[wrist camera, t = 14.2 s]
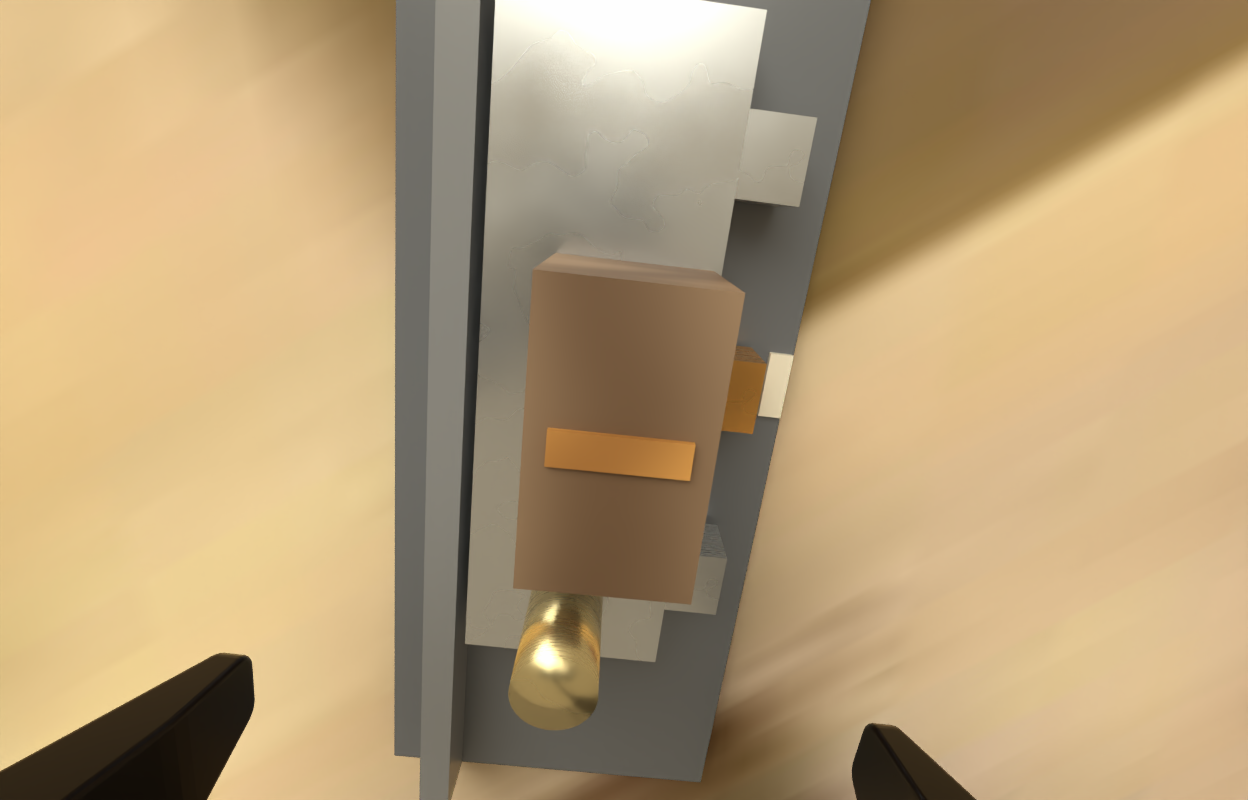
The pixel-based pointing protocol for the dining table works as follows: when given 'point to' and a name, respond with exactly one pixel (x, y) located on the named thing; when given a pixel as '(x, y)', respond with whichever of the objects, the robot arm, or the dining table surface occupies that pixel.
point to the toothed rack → (612, 229)
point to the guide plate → (447, 391)
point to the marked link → (621, 425)
